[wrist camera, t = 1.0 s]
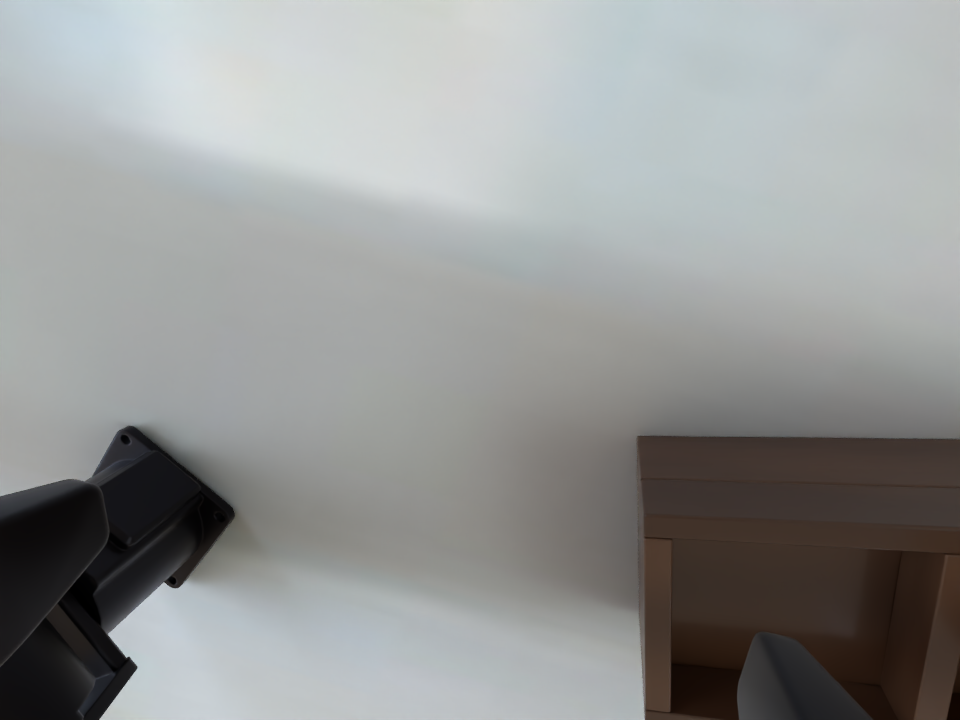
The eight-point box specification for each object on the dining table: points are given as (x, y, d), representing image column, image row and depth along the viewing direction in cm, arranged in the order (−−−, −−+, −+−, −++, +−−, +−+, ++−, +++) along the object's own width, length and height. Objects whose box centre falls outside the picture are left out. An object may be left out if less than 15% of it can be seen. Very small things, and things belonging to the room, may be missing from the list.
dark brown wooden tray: (1112, 655, 19) (1270, 813, 14) (638, 615, 23) (645, 728, 18) (1182, 440, 16) (1402, 548, 12) (636, 434, 20) (643, 514, 16)
